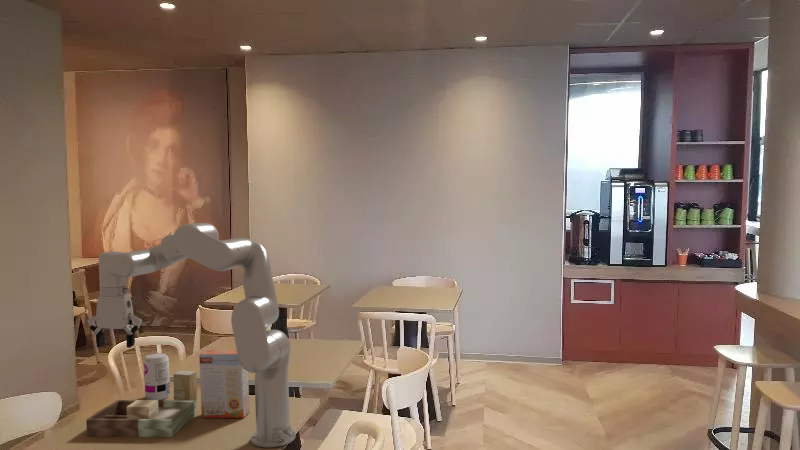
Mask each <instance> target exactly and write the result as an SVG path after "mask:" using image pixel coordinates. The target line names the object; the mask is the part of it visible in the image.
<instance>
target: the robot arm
mask: <svg viewBox="0 0 800 450" xmlns="http://www.w3.org/2000/svg"><path fill="white" fill-rule="evenodd" d="M186 259H191V260H192V261H195V262H197V263H199V264H200V265H202V266H204V267H207V268H209V269H210V270H213V271H217V272H226V271H229V270H234V269H238V268H242V269H243V273H242V288H243V291H244V299H242V300H240V301H239V302H237V303H236V304H235V305H234V307H233V309H232V312H231V317H230V318H231V319H230V321H231V329H232V332H233V333H232V334H233V339H234V343H235V344H234V345H235V350H237V354H238V358H239V361H240V363H241V365H242V367H243V368H244V369H245V370H247V371H248V373H251V374H255V375H254V394H255V395H254V402H255V425H256V426H255V428H256V432H254V433H253V434H251V437H250V442H251V444H252V445H254V446H256V447H260V448H266V449H267V448H276V447H277V448H278V447H282V446H285V445H289V444H290V443H291V442H293V441H294V440H295V439H296V431H295V430H294V429H292V425H291V424H290V391H289V389H290V387H289V384H290V381H289V366H290V359H291V358H290V357H291V343H290V340H289V337H288V335H286V333H284V332H283V331H281V330H279V329H269V330H267V329H266V328H268V327H269V326H271V325H273V324H275V322H276V321H277V320H278V318H279V316H280V307H279V304H278V299H277V298H278V297H277V294H276V293H277V292H276V288H275V284H274V279H273V274H272V273H273V272H272V268H271V267H272V266H271V261H270V257H269V254H268V252H267V250H266V248H265V247H264V246H263V245H262V244H261V243H260V242H258V241H256V240H254V239H252V238H245V237H237V238H229V239H223V240H220V234H219V231H218V229H217V228H216V227H215V225H213V224H211V223H208V222H196V223H194V222H193V223H192V222H191V223H186V224H182V225H181V226H179V227H178V228H177V229H175V231H174V232H172V233H170V234H168V235H165V236H164V237H162V239H161V242H160V244H158V245H156V246H153V247H150V248H147V249H141V250H134V251H133V250H132V251H128V252H127V251H126V252H123V251H105V252H101V253H100V254H99V255H98V272H99V275H98V276H99V277H98V278H99V296H98V298H97V301H96V312H95V313H96V314H95V315H94V316H92V317H90V318H89V319H87V320H86V322H87V324H88V326H89V329H90V330H91V331H92V332H93V334H94V335H95V342H96V348H101V347H103V346H105V344H106V342H105V341H106V338H105V332H104V330H105V329H106V330H121V329H122V330H125V332H126V333H127V334H126V348H132V347H134V346H135V344H136V343H135V342H136V339H135V338H136V337H135V336H136V335H135V334H136V333H137V332H138V330H139V329H140V328H141V327H140V326H141V325H142V323H143V319H142V318H141V317H140V318H139V317H138V316H136V315H134V307H133V303H132V299H131V295H130V294H128V293H131V288H130V287H128V285H127V284H128V283H127V282H128V281H127V278H132V277H137V276H141V275H145V274H146V275H147V274H151V273H155V272H157V271H159V270H163V269H165V268H168V267H171V266H173V265H175V264H177V263H179V262H181V261H184V260H186ZM95 322H96V323H95ZM133 325H134V326H133Z"/></svg>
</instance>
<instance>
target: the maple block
mask: <svg viewBox="0 0 800 450" xmlns="http://www.w3.org/2000/svg"><path fill="white" fill-rule="evenodd" d="M158 413H159V410H158V400H148V399H136V401H135V402H133V403H132V404H130V405H128V406H127V419H151V418H152V417H154V416H155V415H156V414H158Z"/></svg>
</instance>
